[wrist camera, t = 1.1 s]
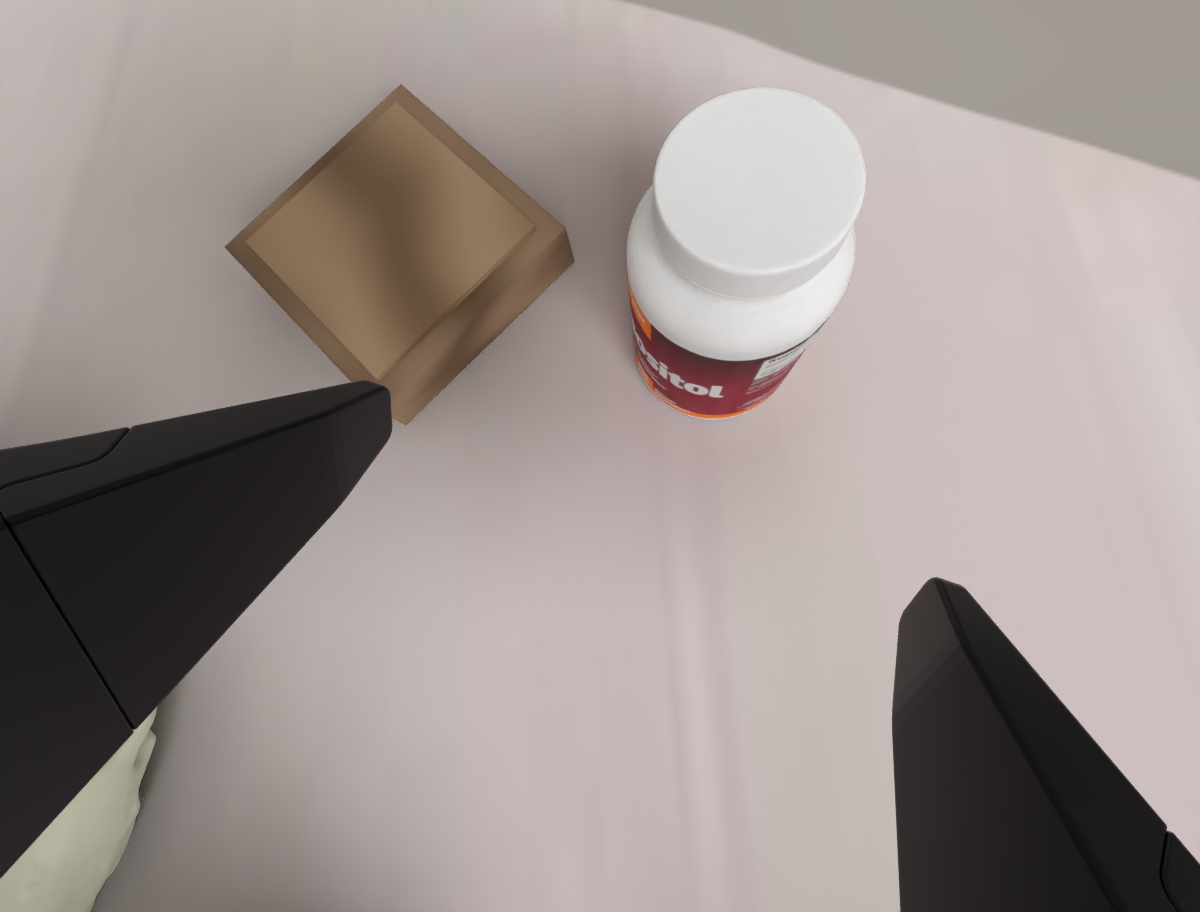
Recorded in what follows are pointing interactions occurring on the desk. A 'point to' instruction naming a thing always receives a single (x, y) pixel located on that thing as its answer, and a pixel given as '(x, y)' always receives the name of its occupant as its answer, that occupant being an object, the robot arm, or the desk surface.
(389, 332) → the plinth
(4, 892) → the wavy plaster lump
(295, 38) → the desk surface
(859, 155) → the pill bottle
